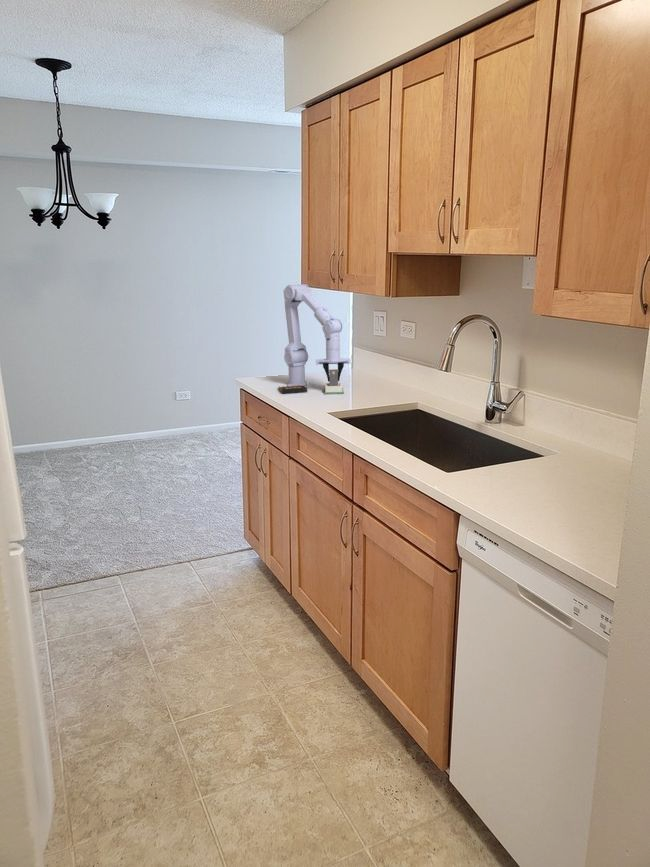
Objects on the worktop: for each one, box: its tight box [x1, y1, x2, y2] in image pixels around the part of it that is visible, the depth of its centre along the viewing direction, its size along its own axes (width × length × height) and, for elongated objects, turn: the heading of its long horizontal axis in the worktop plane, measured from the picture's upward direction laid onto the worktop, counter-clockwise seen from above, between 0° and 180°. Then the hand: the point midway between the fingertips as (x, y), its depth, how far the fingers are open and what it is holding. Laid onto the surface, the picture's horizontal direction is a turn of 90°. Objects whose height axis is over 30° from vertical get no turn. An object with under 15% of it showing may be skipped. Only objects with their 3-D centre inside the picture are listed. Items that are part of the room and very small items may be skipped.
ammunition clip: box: [277, 385, 308, 395], centre depth 284 cm, size 11×2×12 cm
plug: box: [328, 368, 339, 386], centre depth 278 cm, size 4×4×7 cm
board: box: [323, 382, 345, 395], centre depth 280 cm, size 10×8×3 cm
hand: (333, 380), depth 279 cm, fingers closed on plug, 3 cm apart
